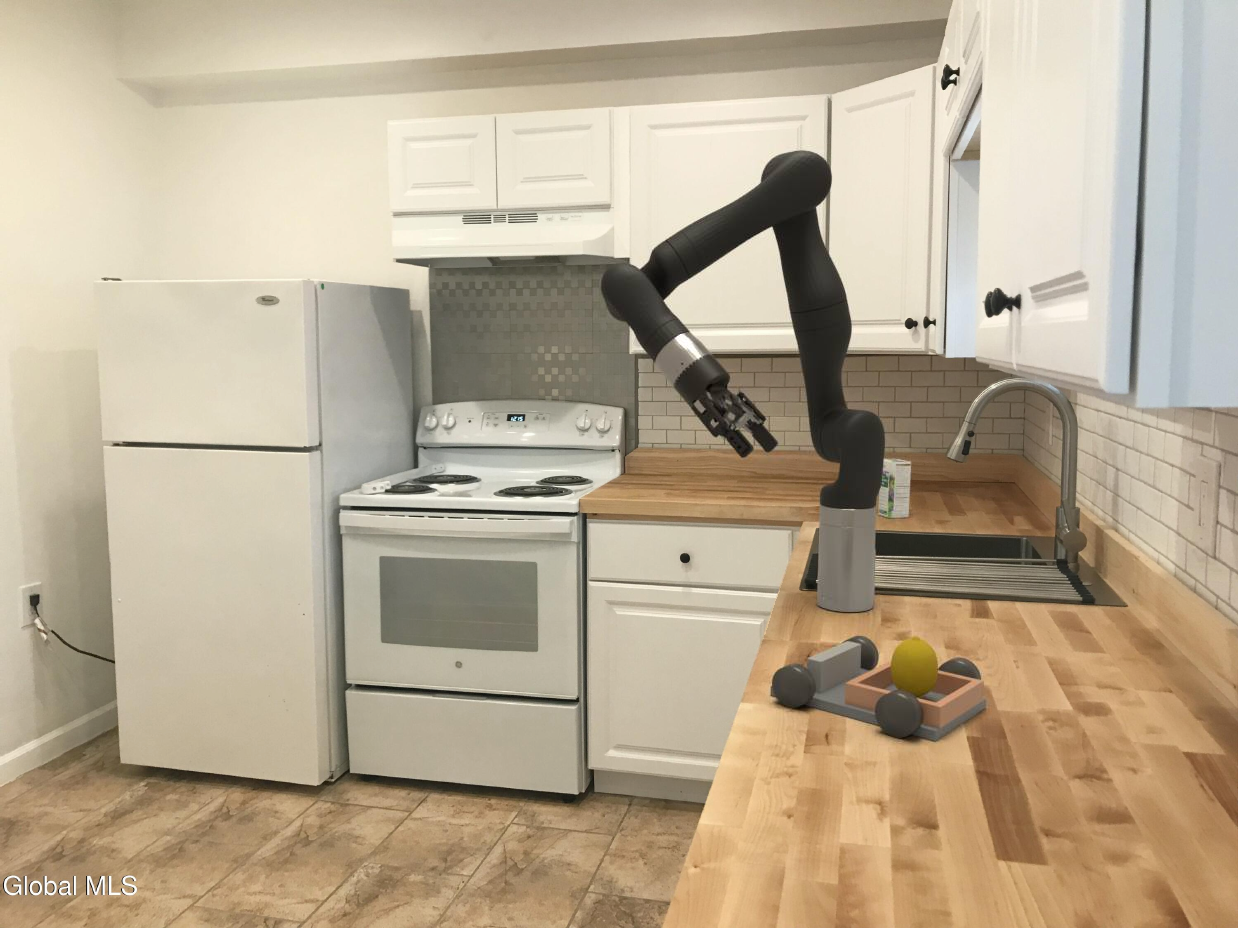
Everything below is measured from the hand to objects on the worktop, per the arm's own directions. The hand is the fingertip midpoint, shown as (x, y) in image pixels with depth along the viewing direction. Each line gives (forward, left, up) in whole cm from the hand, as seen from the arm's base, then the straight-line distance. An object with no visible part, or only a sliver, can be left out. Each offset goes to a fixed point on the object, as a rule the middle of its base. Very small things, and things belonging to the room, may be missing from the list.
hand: (761, 451), depth 147 cm
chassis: (+10, +25, -29) cm, 39 cm away
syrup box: (-114, -36, -29) cm, 123 cm away
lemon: (+10, +29, -28) cm, 42 cm away
